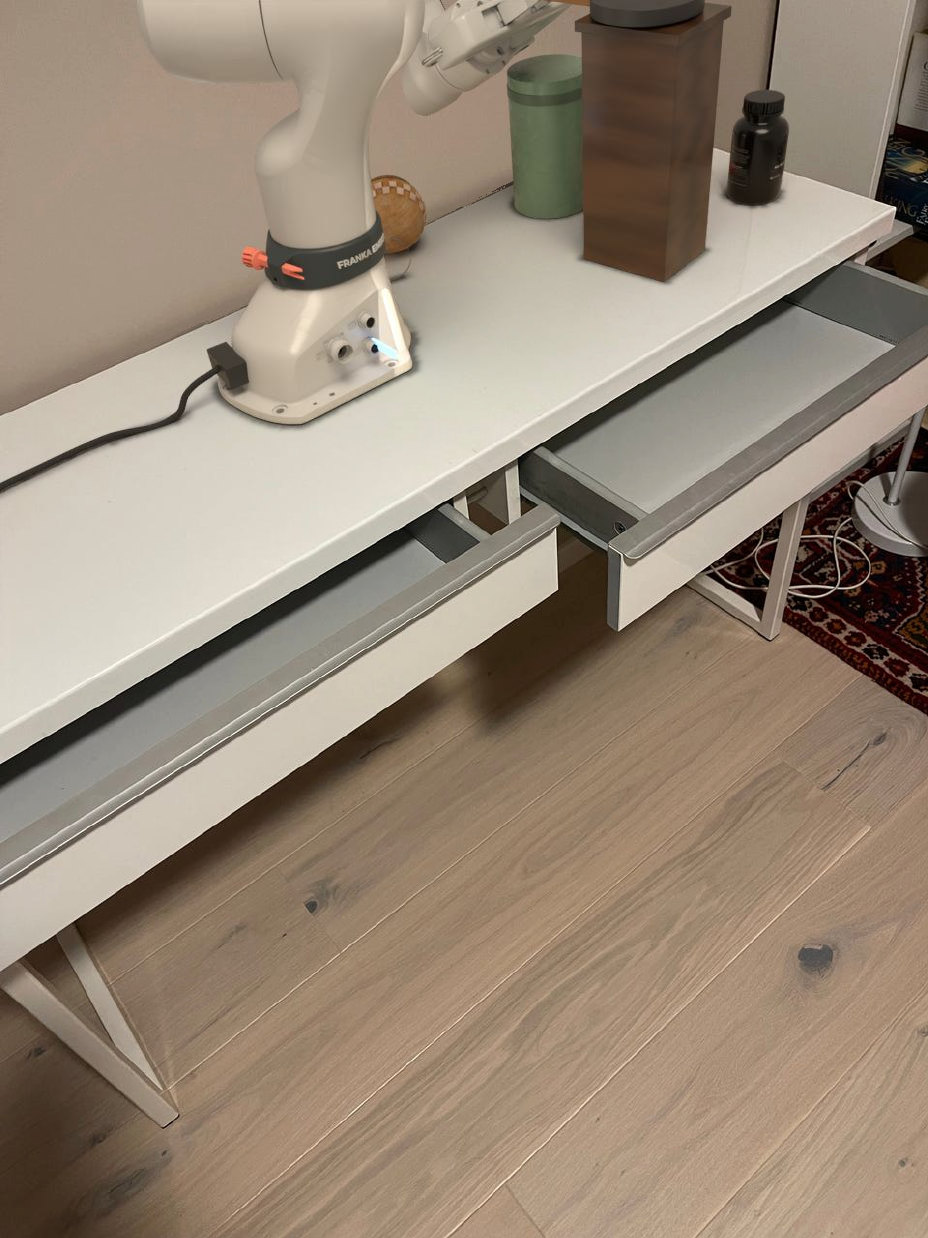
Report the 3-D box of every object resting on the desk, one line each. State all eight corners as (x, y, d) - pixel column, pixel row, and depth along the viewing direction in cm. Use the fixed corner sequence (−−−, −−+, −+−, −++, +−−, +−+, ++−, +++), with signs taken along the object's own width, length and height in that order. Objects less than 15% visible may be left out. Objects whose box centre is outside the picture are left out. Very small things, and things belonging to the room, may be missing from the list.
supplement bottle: (785, 204, 127) (799, 103, 118) (730, 208, 127) (740, 108, 118) (774, 181, 131) (787, 83, 123) (722, 185, 132) (731, 88, 123)
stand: (665, 285, 115) (679, 35, 97) (577, 259, 122) (574, 20, 103) (711, 249, 120) (732, 5, 102) (623, 226, 126) (628, -8, 108)
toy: (445, 282, 122) (432, 204, 130) (417, 222, 115) (405, 143, 122) (375, 308, 124) (367, 230, 132) (343, 251, 117) (336, 172, 124)
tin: (559, 225, 128) (556, 88, 117) (498, 208, 133) (488, 75, 122) (605, 194, 133) (606, 60, 122) (544, 180, 138) (539, 49, 127)
